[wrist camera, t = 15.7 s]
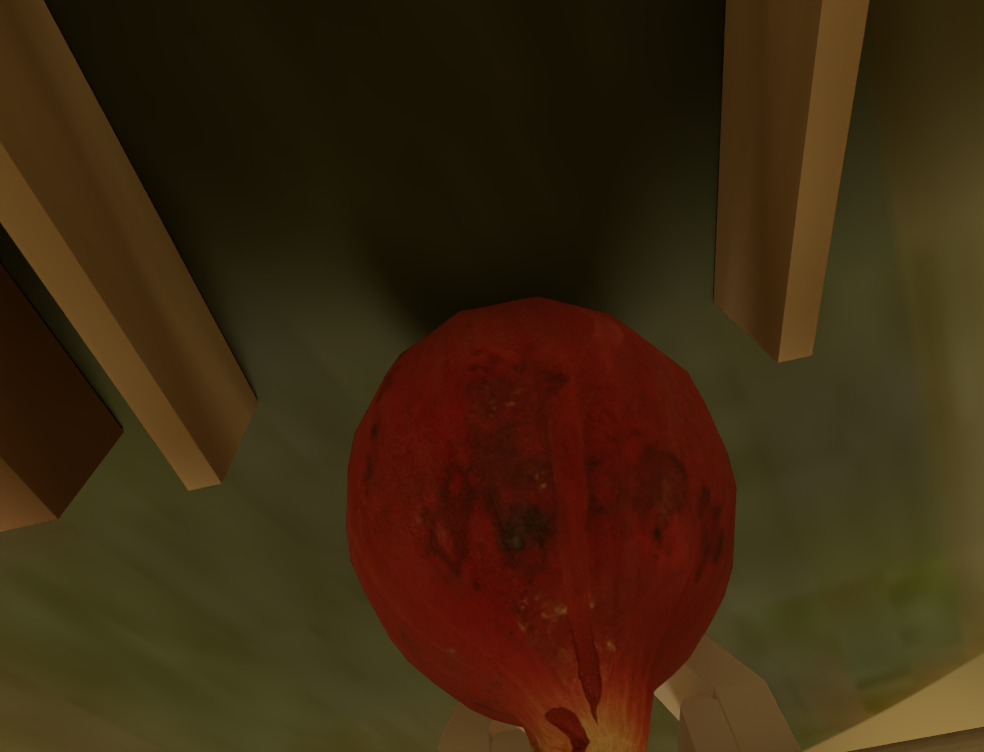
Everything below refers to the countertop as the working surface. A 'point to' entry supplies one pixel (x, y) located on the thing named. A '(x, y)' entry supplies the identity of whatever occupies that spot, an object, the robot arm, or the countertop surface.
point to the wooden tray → (193, 331)
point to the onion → (542, 519)
